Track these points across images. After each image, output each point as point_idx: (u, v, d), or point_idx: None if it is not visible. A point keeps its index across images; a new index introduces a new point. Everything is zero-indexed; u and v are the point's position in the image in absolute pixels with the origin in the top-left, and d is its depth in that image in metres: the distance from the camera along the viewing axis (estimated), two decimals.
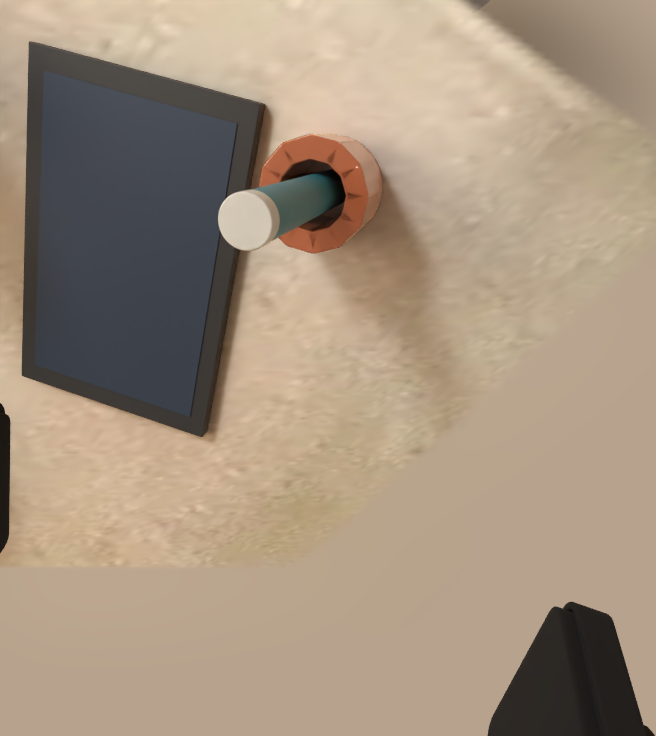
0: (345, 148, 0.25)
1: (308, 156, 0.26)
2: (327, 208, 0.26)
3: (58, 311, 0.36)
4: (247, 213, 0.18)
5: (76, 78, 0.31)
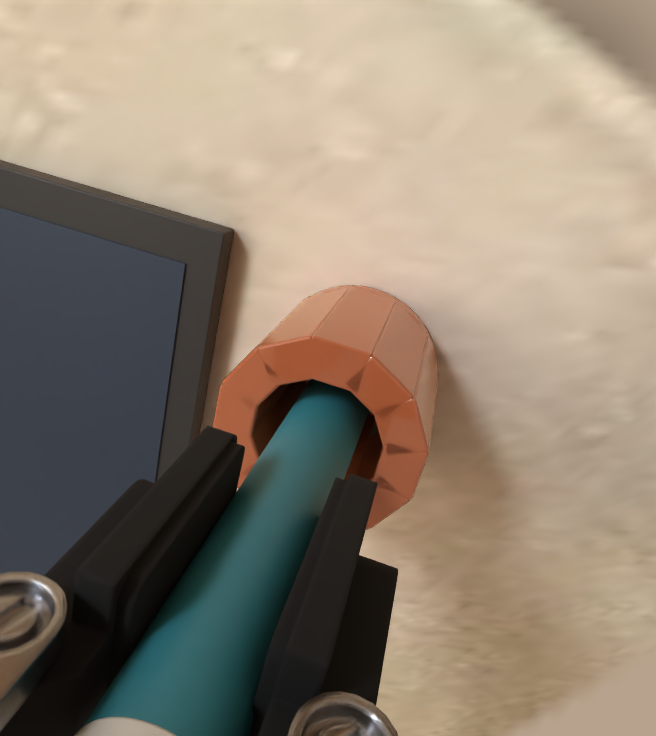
0: (384, 365, 0.12)
1: (309, 375, 0.13)
2: None
3: None
4: None
5: None
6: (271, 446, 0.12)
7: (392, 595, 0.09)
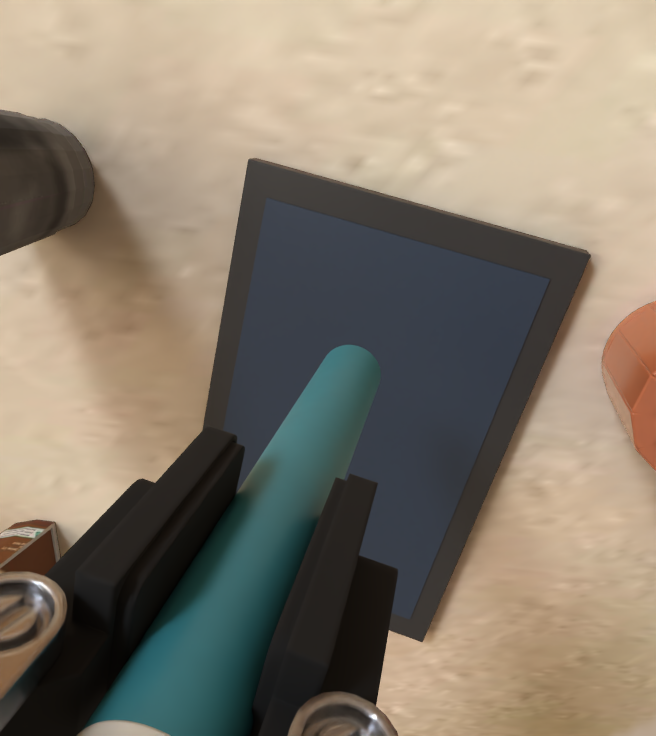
0: None
1: None
2: None
3: None
4: None
5: (312, 209, 0.22)
6: (271, 448, 0.12)
7: (392, 595, 0.09)
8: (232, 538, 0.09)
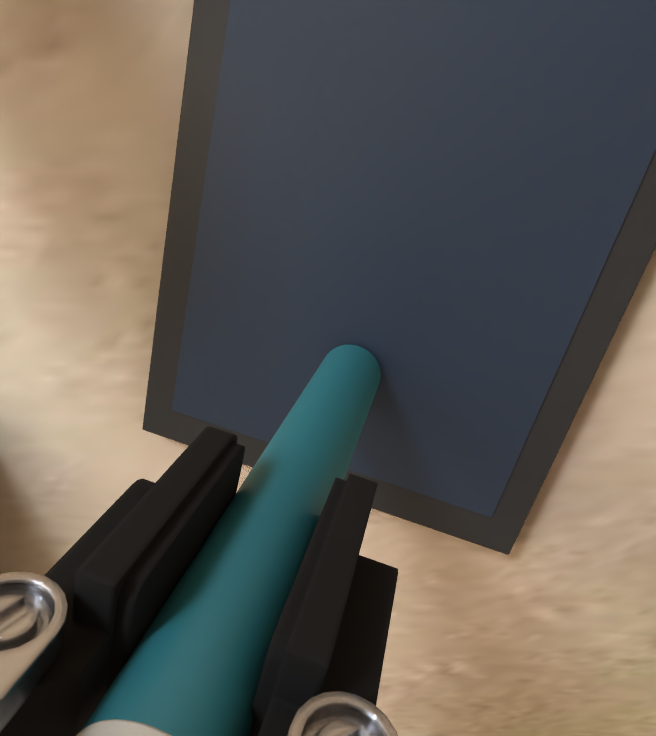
0: None
1: None
2: None
3: (233, 306, 0.18)
4: None
5: None
6: (271, 448, 0.12)
7: (392, 595, 0.09)
8: (232, 538, 0.09)
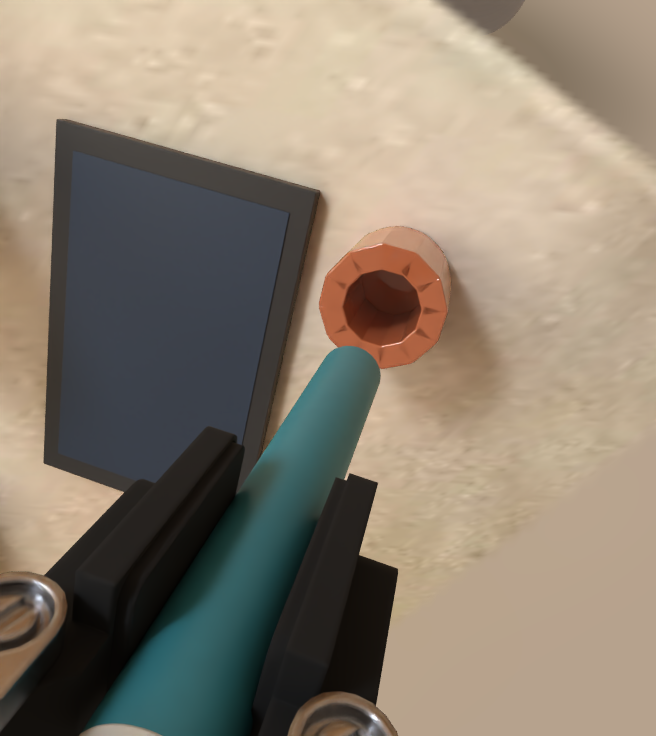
0: (423, 259, 0.22)
1: (380, 267, 0.23)
2: None
3: (84, 399, 0.33)
4: None
5: (108, 159, 0.28)
6: (270, 450, 0.12)
7: (392, 595, 0.09)
8: (231, 540, 0.09)
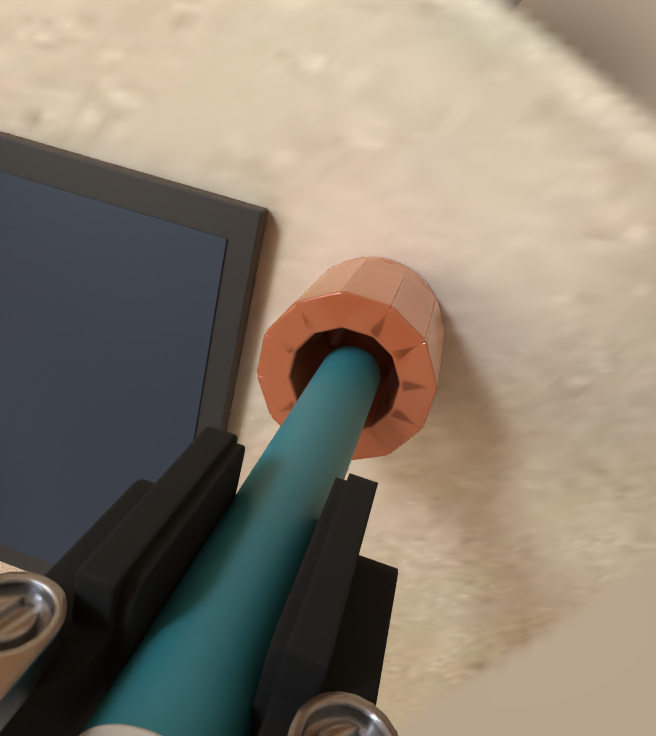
0: (401, 314, 0.15)
1: (339, 324, 0.16)
2: None
3: None
4: None
5: None
6: (270, 450, 0.12)
7: (392, 595, 0.09)
8: (231, 540, 0.09)
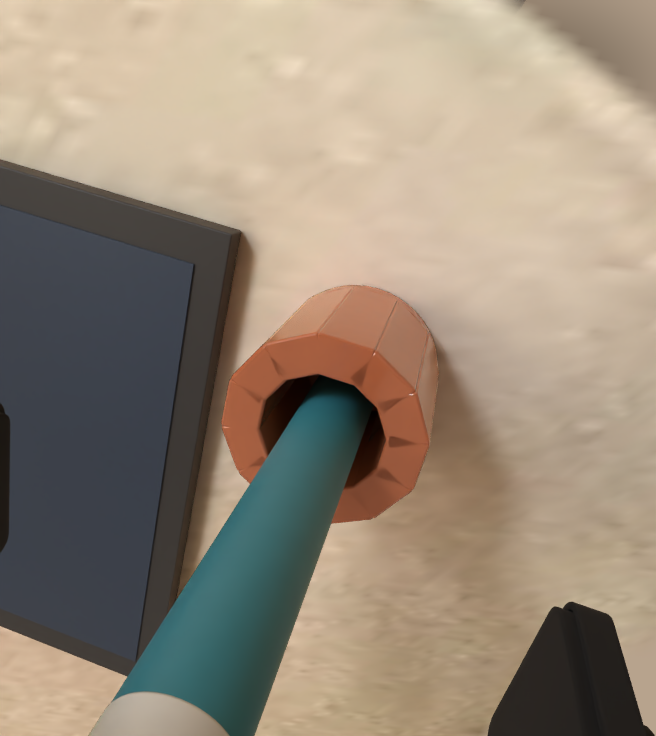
0: (387, 360, 0.13)
1: (315, 370, 0.13)
2: None
3: None
4: None
5: None
6: (278, 447, 0.12)
7: None
8: (244, 530, 0.10)
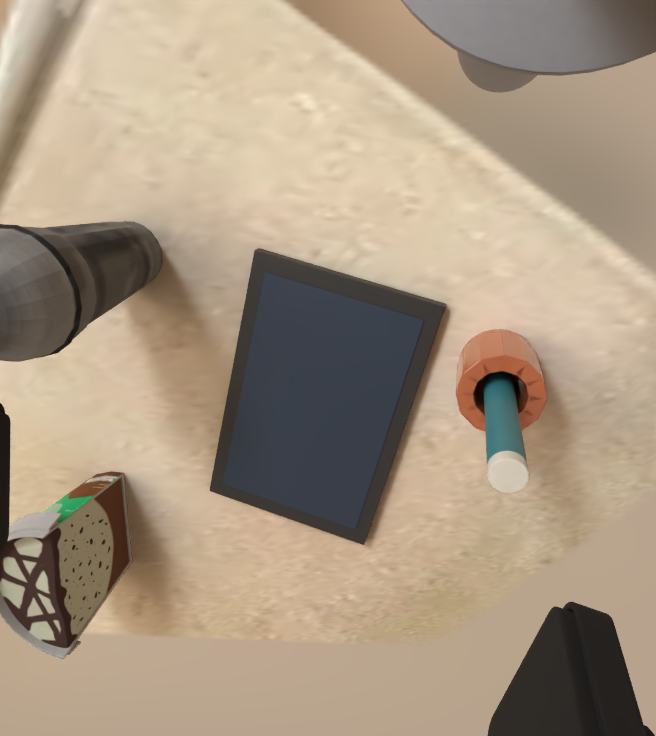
0: (531, 365, 0.33)
1: (501, 369, 0.34)
2: None
3: (250, 444, 0.44)
4: (511, 471, 0.26)
5: (291, 279, 0.39)
6: (493, 398, 0.33)
7: None
8: (502, 421, 0.30)
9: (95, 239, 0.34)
